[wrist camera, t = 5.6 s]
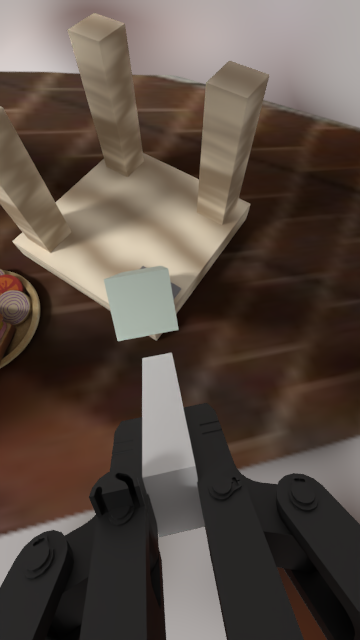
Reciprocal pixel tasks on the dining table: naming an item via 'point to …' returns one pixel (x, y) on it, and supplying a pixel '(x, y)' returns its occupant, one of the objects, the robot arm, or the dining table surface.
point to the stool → (135, 179)
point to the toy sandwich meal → (16, 315)
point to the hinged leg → (141, 302)
